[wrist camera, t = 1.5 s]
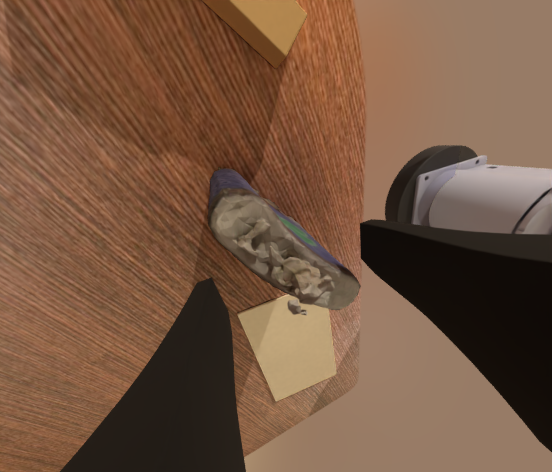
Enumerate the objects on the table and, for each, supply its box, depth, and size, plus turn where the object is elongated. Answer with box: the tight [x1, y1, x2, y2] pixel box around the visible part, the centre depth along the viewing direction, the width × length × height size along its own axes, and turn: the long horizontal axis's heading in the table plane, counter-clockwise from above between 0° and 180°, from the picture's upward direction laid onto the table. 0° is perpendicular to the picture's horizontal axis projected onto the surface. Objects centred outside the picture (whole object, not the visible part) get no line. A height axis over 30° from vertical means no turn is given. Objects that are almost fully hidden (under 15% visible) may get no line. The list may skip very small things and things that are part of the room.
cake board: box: [237, 294, 337, 402], centre depth 25 cm, size 10×19×1 cm, turn 12°
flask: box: [208, 167, 361, 316], centre depth 12 cm, size 9×3×11 cm, turn 48°
